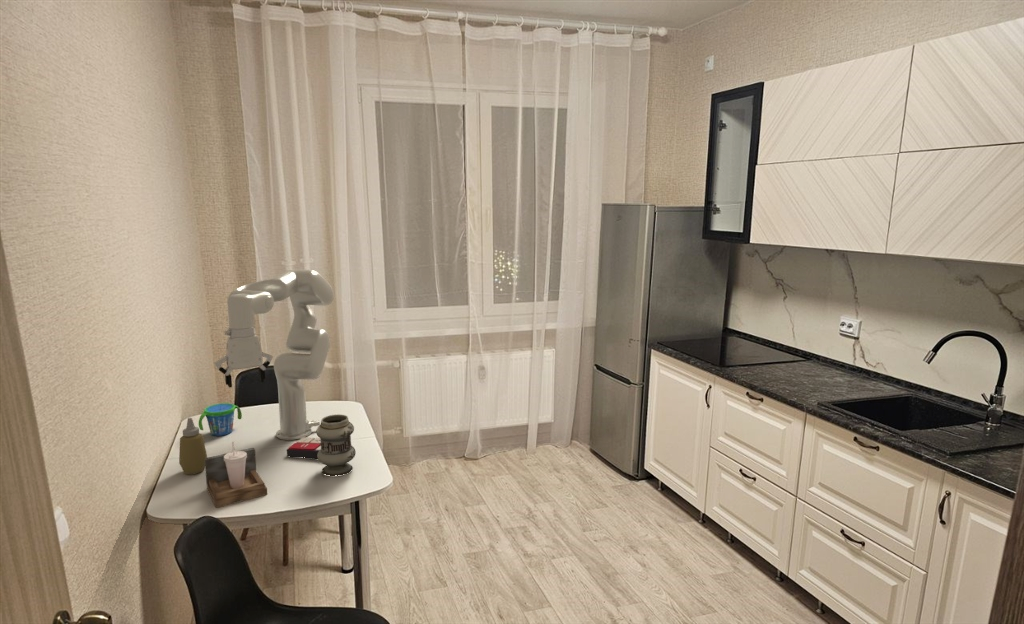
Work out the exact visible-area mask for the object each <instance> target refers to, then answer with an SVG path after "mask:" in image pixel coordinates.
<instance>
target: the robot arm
mask: <svg viewBox="0 0 1024 624" xmlns="http://www.w3.org/2000/svg"><path fill="white" fill-rule="evenodd" d="M288 298H289V300H290V302H291V305H292V310H293V320H292V323H291V327H290V329H289V333H288V335H287V337H286V341H285V342H286V344H285V345H286V348H287V349H288V350H289V351H291V352H285V353H281V354H279V355H278V356H276V358H274V361H273V371H274V374H275V377H276V384H277V393H278V410H279V412H278V413H279V428H280V429H278V430H277V431H276V432H275V433H276V436H275V437H276V438H278V439H280V440H283V441H292V440H293V441H294V440H300V439H301V438H303V437H306V438H307V437H308V436H310V435H311V433H312V427H318V426H319V425H321V421H320V420H314V419H312V420H308V419H307V403H306V401H307V400H306V387H305V385H304V383H303V380H307V381H309V380H317V379H318V378H320V376H321V375H322V373H323V370H324V367H325V363H326V360H327V356H328V352H329V349H330V345H331V339H330V334H329V333H328V331H326V330H325V329H324V328H316V325H317V316H316V314H315V312H314V311H313V309H312V308H311V306H320V307H321V306H322V307H323V306H329V305H331V304H332V302H333V301H334V299H335V292H334V289H333V287H332V285H331V284H330V283H329V281H327V279H325V278H324V277H323V275H321V274H320V272H318V271H316V270H313V269H289V270H286V271H284V272H282V273H280V274H278V275H276V276H274V277H271V278H269V279H264V280H260V281H257V282H252V283H251V282H250V283H247V284H243V285H241V286H239V287H237V288H235V289H234V290H232V291H231V292H230V293H229V295H228V297H227V300H226V301H227V304H226V305H227V315H228V316H227V317H228V329H227V330H223V331H224V335H225V336H228V337H227V341H226V355H224V356H223V357H221V358H220V359H219V360H216V361H214V365H215V367H216V368H217V369H218V371H219V372H221V373H222V374H224V381H225V385H226V386H227V387H228V388H232V387H233V384H232V382H233V381H232V375H231V373H232V371H233V370H241V369H250V368H257V367H258V370H257V371H258V380H259V382H260V383H264V381H265V380H266V373H265V372H266V370H267V368H268V367H269V365H271V361H272V360H273V355H272V354H269V353H266V352H263V351H262V346H261V341H260V337H259V334H258V335H257V334H256V325H255V324H256V323H255V315H258V314H259V315H261V314H266V313H269V312H270V311H271V310H272V309H273V308H274V306H275V305H274V304H275V303H278V302H281V301H284V300H286V299H288ZM263 358H266V359H265V361H263ZM224 363H226V365H227V367H226V368H224V367H223V366H222V364H224Z"/></svg>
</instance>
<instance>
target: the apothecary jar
mask: <svg viewBox="0 0 1024 624" xmlns="http://www.w3.org/2000/svg"><path fill="white" fill-rule="evenodd" d="M315 431H316V432H315V433H316V435H317V438H320V439H321V450H320V451H319V452H318V455H317V458H318V462H320V464H323V465H325V466H324V467H322V469H321V470H322V471H321V474H322V473H323V474H326V475H330V476H335V475H337V476H338V475H343V474H346V475H348V474H350V473H351V472H352V471H353V469H354V468H353V465H351V464H350V462H351V461H352V460H353V459H354V458H355V456H356V449H355V447H354V446H353V445H352V436H351V435H352V434H353V433H354V431H355V426H354V425H353V423H352V422H351V421H349V417H348V415H345V414H339V413H338V414H331V415H326V416H324V417H322V418H321V420H320V425H319V426H317V428H316V430H315ZM351 470H352V471H351ZM350 471H351V472H350ZM349 472H350V473H349ZM347 473H348V474H347ZM323 474H322V475H323ZM343 476H344V475H343ZM338 477H339V476H338Z"/></svg>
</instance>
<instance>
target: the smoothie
mask: <svg viewBox="0 0 1024 624" xmlns="http://www.w3.org/2000/svg"><path fill="white" fill-rule="evenodd" d="M231 445H232V447H231V448H232V451H230V452H228V454H227V453H225V454H226V455H225V456H224V461H225V463H226V468H227V472H228V477H229V481H230V486H231V487H232V488H239V487H242V486H243V485H244V478H245V464H246V458H247V453H246V452H244V451H240V450H235V441H232V442H231Z"/></svg>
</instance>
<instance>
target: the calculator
mask: <svg viewBox="0 0 1024 624" xmlns="http://www.w3.org/2000/svg"><path fill="white" fill-rule="evenodd" d="M320 450H321V439H320V438H319V437H316V438H315V437H307V436H306V437H303V438H300V439H298V440H297V441H296V442H295V443H293V444H292V445H290V446H289V447H288V448H287V449H286V457H287V456H290V457H289V458H293V457H303V458H302V459H304V457H305V458H312V460H315V459H318V458H317V455H318V452H319V451H320Z"/></svg>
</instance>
